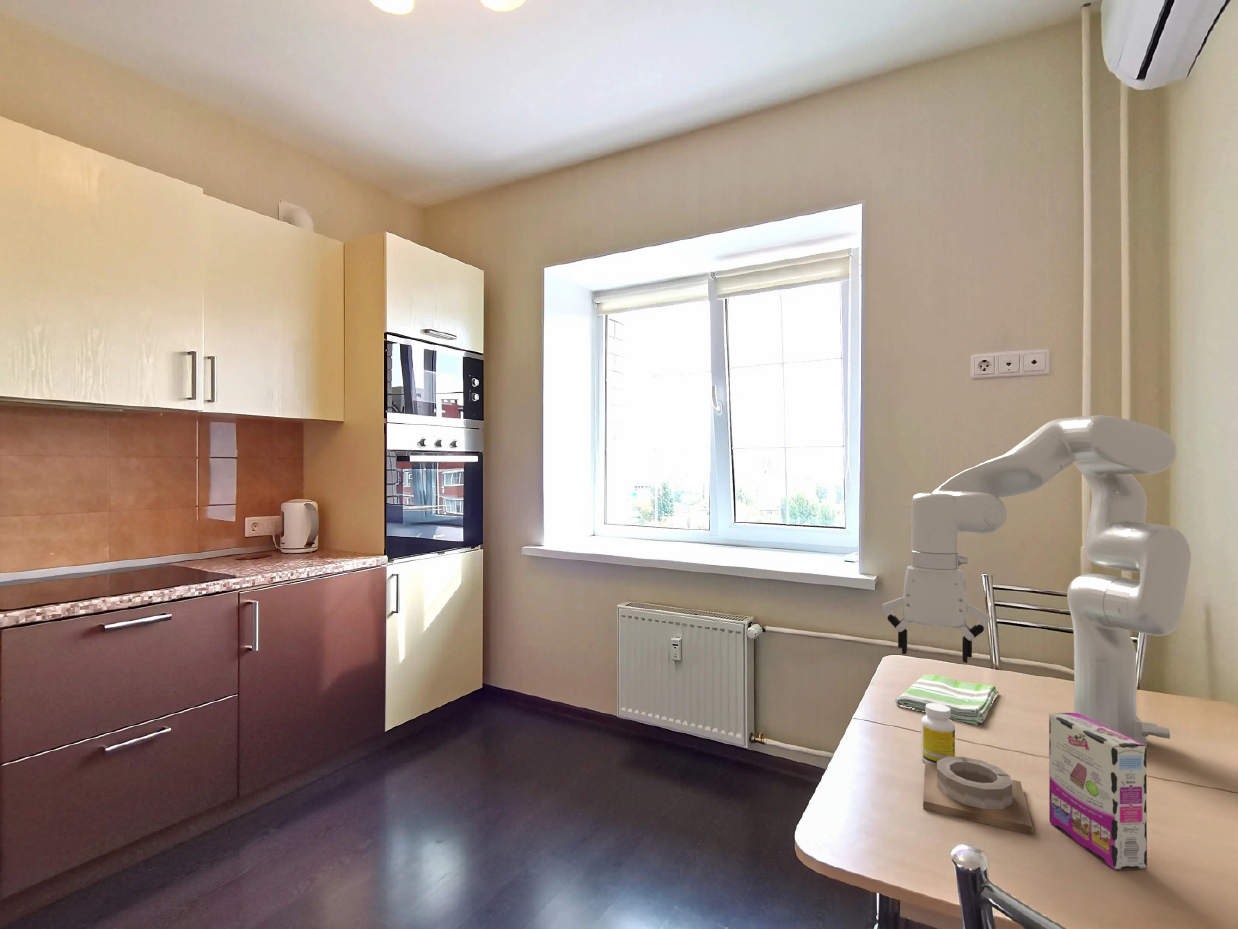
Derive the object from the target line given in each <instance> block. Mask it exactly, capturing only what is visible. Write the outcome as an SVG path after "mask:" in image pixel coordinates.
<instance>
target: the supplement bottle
mask: <svg viewBox="0 0 1238 929" xmlns="http://www.w3.org/2000/svg"><path fill="white" fill-rule="evenodd" d="M950 717H951V710H950V708H949V707H947V706H945V705H942V704H937V703H929V704H926V713H925V715H924V716H923V717H921V722H920V723H921V724H920V726H921V727H920V734H921V736H920V739H921V740H920V758H921V759H922V761H923V762H924V763H925V762H928V763H933V764H937V761H939V760H941V759H943V758H945V757H956V727H955V726H956V725H955V723H954V722H953V721H952V719H949V718H950Z"/></svg>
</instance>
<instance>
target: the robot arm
mask: <svg viewBox="0 0 1238 929" xmlns="http://www.w3.org/2000/svg"><path fill="white" fill-rule="evenodd" d="M1176 445H1177V444H1176V443H1175V441H1174V440H1173V437H1171V436H1170V435H1169V434H1168V433H1167V432H1166V431H1164V430H1163V429H1160V428H1159V427H1155V426H1152V425H1148V424H1144V423H1141V422H1138V421H1134V420H1129V419H1126V418H1121V417H1118V416H1112V415H1103V414H1097V415H1084V416H1074V417H1073V416H1072V417H1062V418H1057V419H1053V420H1051V421H1048V422H1047V423H1045V424H1043V425H1042V426H1041V427H1040V428H1037V430H1036V431H1033V432H1032V434H1031V433H1030V435H1029V436H1028V437H1026V438H1024V440H1022V441H1021V442H1020V443H1018V444H1017V445H1015V446H1014V447H1013V448H1012V449H1010V450H1009V451H1007V452H1006V453H1004V454H1003V455H1002V454H1001V455H1000V456H997V457H995V458H992V459H989V460H987V461H985V462H983V463H979V464H978V465H975V466H972V467H971V468H968V469H965V470H963V471H961V472H959V473H957V474H955V475H954V476H952V477H950V478H949V479H947V480H946V481H945V482H943V483H942V484H941V485H940V486H938V487H937V488H935V490H933V492H919V493H916V494H915V495H913V496H912V498H911V507H910V508H911V510H910V511H911V512H910V513H911V516H910V517H911V518H910V519H911V524H910V527H911V528H910V530H911V531H910V533H911V536H910V538H911V539H910V542H911V543H910V548H911V549H910V551H911V552H910V562H911V563H910V565H907V566H906V570H905V574H904V582H903V583H904V584H903V596H901V597H898V598H895V599H893V600H890V601H887V602H884V603H883V604H882V605H881V609H882V611H883V613H884V615H885V616H886V618H887V621H888V622H889V623H890V624H891V625H892V626H893V627H894V629H895V630H896V631H897V632H898V633H897V635H898V636H897V649H898V648H899V649H901V654H902V655H906V654H907V653H908V630H907V627H909V626H910V624H916V625H917V624H918V625H926V626H933V627H943V628H954V629H958V631H960V633H961V634H962V635H963V636H962V640H961V641H962V644H961V645H962V646H961V647H962V648H961V649H962V650H961V651H962V652H961V653H962V655H961V656H962V657H961V658H962V659H961V660H962V662H963V663H965V664H968V658H973V640H974V639H975V638H976V637H978V636H980V634H982V633H983V632H984V631H985V629H986V628H987V626H988V625H989V623H990V622H991V618H992V617H991V616H990V614H988V613H986V612H984V611H983V610H981V609H979V608H978V607H976V606H973V605H972V604H970V603H969V602H967V587H966V580H965V575H964V571H963V570H962V569H960V568H959V567H960V566H963V565H966V566H967V565H969V564H968V563H969V562H968V557H967V556H962V555H961V554H959V534H960V533H967V534H968V533H970V534H975V535H976V534H977V535H986V534H991V533H994V532H996V531H998V530H1000V529H1001V528H1002V527H1003V526H1004V524H1005V522H1006V521H1007V518H1008V516H1007V515H1008V510H1007V507H1006V505H1005V503H1004V502H1003V500H1001V498H1007V497H1012V496H1013V497H1014V496H1018V495H1019V496H1020V495H1024V494H1027V493H1032V492H1033V491H1037V490H1039V489H1041V488H1043V487H1044V486H1046V484H1047V483H1049V482H1050V481H1052V480H1053V479H1054V478H1055V477H1056V476H1058V475H1059V474H1060V473H1062V472H1063V471H1064V470H1066V469H1067V468H1069V467H1070V466H1071V465H1072V464H1073V466H1075V468H1076V469H1078V471H1079V472H1080V474H1081V475H1082V476H1083V477H1084V479H1085V481H1086V482H1087V484H1088V486H1089V489H1090V493H1091V505H1090V511H1089V512H1090V513H1089V518H1088V526H1087V533H1086V537H1085V545H1084V546H1085V547H1084V550H1085V551H1084V552H1085V555H1086V558H1087V559H1088V560H1089V562H1091V563H1092V564H1094V565H1097V566H1099V567H1102V568H1105V569H1106V568H1107V569H1111V570H1118V571H1124V572H1131V573H1136V574H1139V580H1138V579H1132V578H1126V577H1121V576H1115V575H1109V574H1102V573H1085V574H1081V575H1079V576H1076V577H1075V578H1073V579H1072V580H1071V582H1070V583H1069V585H1068V587H1067V593H1066V596H1067V604H1068V609H1069V611H1070V612H1069V613H1070V617H1071V620H1072V622H1071V623H1072V630H1073V631H1072V632H1073V675H1074V678H1073V680H1074V682H1073V683H1074V684H1073V685H1074V686H1073V687H1074V688H1073V690H1074V691H1073V692H1074V693H1073V695H1074V699H1073V700H1074V709H1073V710H1074V712H1073V713H1079V714H1081V715H1083V716H1085V717H1087V718H1090V719H1092V720H1094V721H1096V722H1098V723H1100V724H1102V725H1105V726H1107V727H1109V728H1111V729H1113V730H1115V731H1117V732H1120V733H1122V734H1124V735H1126V736H1128V737H1130V738H1132V739H1134V740H1136V741H1139V742H1141V743H1143V744H1145V745H1147V746H1148V737H1149V736H1154V737H1157V738H1163V739H1170V738H1171V732H1170V729H1169V727H1165V726H1157V723H1156V722H1149V721H1142V720H1141V719H1140V718H1139V717H1138V716H1137V651H1136V647H1135V643H1134V641H1133V639H1132V637H1131V635H1130V633H1129V632H1128V631H1131V632H1135V633H1140V634H1144V635H1149V636H1154V637H1164V636H1168V635H1170V634H1172V633H1173V632H1174V631H1175V630H1176V629H1177V628H1178V627H1179V625H1180V623H1181V620H1182V616H1183V612H1184V608H1185V600H1186V593H1187V587H1188V583H1189V581H1188V580H1189V574H1190V570H1191V559H1192V558H1191V556H1192V555H1191V553H1192V552H1191V548H1190V547H1191V546H1190V545H1189V542H1188V540H1187V538H1186V536H1185V535H1184V534H1183V533H1182V532H1181V531H1180V530H1178V529H1177V528H1174V527H1172V526H1169V525H1166V524H1165V525H1164V524H1157V523H1146V518H1147V509H1148V497H1147V495H1146V492H1145V490H1144V488H1143V487H1142V486H1143V485H1142V484H1141V483H1140V482H1139V481H1138V480H1137V478H1136V477H1135V476H1134V475H1155V474H1159V473H1162V472H1164V471H1166V470H1168V469H1169V468H1170V467H1171V466H1172V465H1173V463H1174V462H1175V460H1176V456H1177V446H1176ZM901 606H902V615H903V617H902V619H899V618H898V617H897V616H896V615H895V614H894V612H893V609H897V608H898V607H901ZM968 613H969V614H971V615H973V617H976V618H977V619H979V620H978V622H977V623H976V624H975V625H973V626H972V627H971V628H970V627H969V626H968V625H967V620H968V619H967V618H968Z"/></svg>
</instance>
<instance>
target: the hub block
mask: <svg viewBox="0 0 1238 929" xmlns="http://www.w3.org/2000/svg"><path fill="white" fill-rule="evenodd" d="M923 775H924V776H923V778H924V779H923V802H922V803H923V804H922V805H923V806H922V807H923V808H922V809H923V810H926V811H930V812H935V813H938V814H939V813H940V814H944V815H948V816H951V817H952V816H953V817H955V818H961V819H965V820H968V821H969V820H970V821H972V822H973V821H974V822H976V823H977V822H978V823H981V824H986V825H991V826H995V827H998V828H1003V829H1007V830H1011V831H1015V832H1019V833H1023V834H1024V833H1025V834H1027V835H1033V825H1032V821H1031V817H1030V813H1029V808H1028V804H1027V801H1026V798H1025V794H1024V790H1023V787H1022V781H1019V780H1015V779H1012V778H1011V775H1010V774H1008V773H1007V772H1006V771H1005V770H1003V769H1002V768H1001V767H999V766H997V765H994V764H991V763H989V762H987V761H984V760H981V759H977V758H976V759H975V758H972V757H967V756H955V757H945V758H943V759H941V760H939V761H937V764H933V763H928V762H924V774H923Z"/></svg>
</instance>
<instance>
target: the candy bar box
mask: <svg viewBox="0 0 1238 929" xmlns="http://www.w3.org/2000/svg"><path fill="white" fill-rule="evenodd" d="M1048 715H1049V716H1048V722H1049V725H1048V727H1049V728H1048V730H1049V731H1048V732H1049V733H1048V735H1049V736H1048V737H1049V740H1048V745H1049V746H1048V749H1049V750H1048V751H1049V753H1048V755H1049V756H1048V757H1049V760H1048V765H1049V766H1048V767H1049V768H1048V769H1049V779H1048V780H1049V783H1048V784H1049V799H1048V800H1049V803H1048V804H1049V823H1050V824H1051V825H1052V826H1054V827H1055V828H1056V829H1058V830H1059V831H1061V832H1062V833H1063V834H1065V835H1066V836H1068V837H1069V838H1070V839H1072V840H1073V841H1074V842H1076V843H1077V844H1078V845H1079V846H1081V847H1083V848H1084V849H1085V850H1087V851H1088V852H1089V853H1091V854H1093V855H1094V856H1095V857H1097V858H1098V859H1099V860H1101V861H1102V862H1103V863H1104V864H1106V865H1107V866H1109V867H1110V868H1112V869H1114V870H1115V871H1117V870H1118V871H1120V870H1121V871H1122V870H1123V871H1124V870H1146V869H1147V868H1148V842H1147V841H1148V838H1147V837H1148V836H1147V833H1148V829H1147V828H1148V826H1147V824H1148V822H1147V818H1148V817H1147V816H1148V814H1147V812H1148V811H1147V808H1148V807H1147V799H1148V798H1147V797H1148V796H1147V795H1148V794H1147V793H1148V792H1147V788H1148V786H1147V784H1148V783H1147V776H1148V775H1147V748H1148V747H1147V746H1148V744H1147V745H1145V744H1143V743H1141V742H1139V741H1136V740H1134V739H1132V738H1130V737H1128V736H1126V735H1124V734H1122V733H1120V732H1117V731H1115V730H1113V729H1111V728H1109V727H1107V726H1105V725H1102V724H1100V723H1098V722H1096V721H1094V720H1092V719H1090V718H1087V717H1085V716H1083V715H1081V714H1079V713H1074V712H1059V713H1058V712H1057V713H1048Z"/></svg>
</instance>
